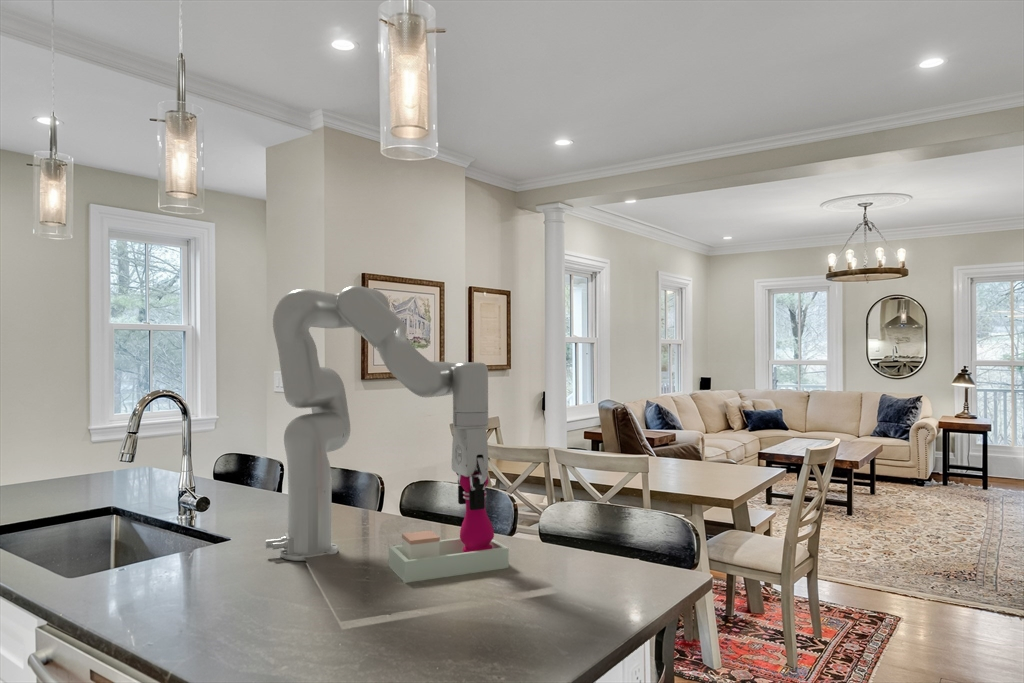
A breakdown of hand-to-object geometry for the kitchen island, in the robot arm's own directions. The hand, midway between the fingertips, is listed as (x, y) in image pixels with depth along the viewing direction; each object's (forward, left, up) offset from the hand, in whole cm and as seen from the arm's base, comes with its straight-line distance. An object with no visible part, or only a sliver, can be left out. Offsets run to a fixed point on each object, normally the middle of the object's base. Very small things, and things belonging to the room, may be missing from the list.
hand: (471, 505), depth 142 cm
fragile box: (-11, 0, -12) cm, 16 cm away
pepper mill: (+1, 0, -11) cm, 11 cm away
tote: (-5, 0, -13) cm, 14 cm away
